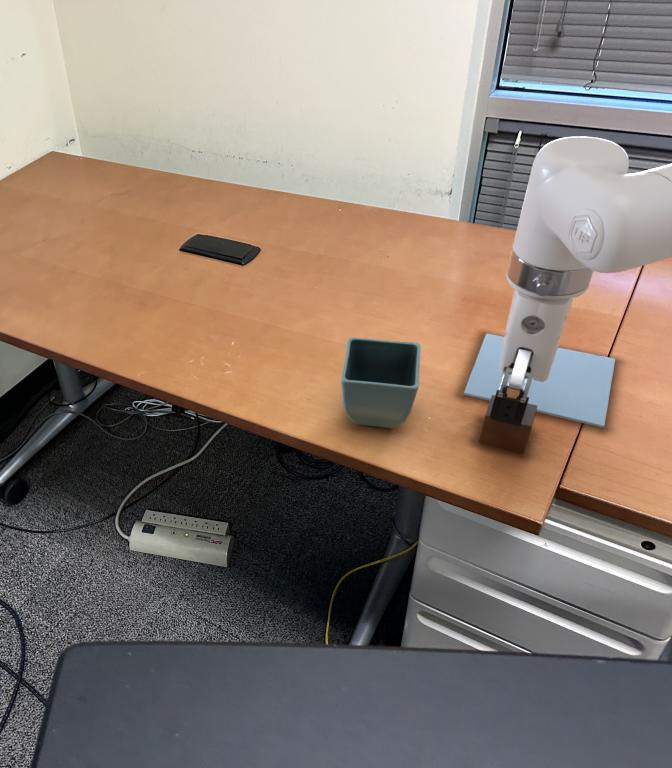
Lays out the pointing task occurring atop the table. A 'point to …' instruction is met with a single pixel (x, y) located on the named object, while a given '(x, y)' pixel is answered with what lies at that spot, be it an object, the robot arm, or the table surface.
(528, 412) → the walnut block
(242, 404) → the table surface
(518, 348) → the robot arm
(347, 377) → the flower pot
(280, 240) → the table surface
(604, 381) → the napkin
